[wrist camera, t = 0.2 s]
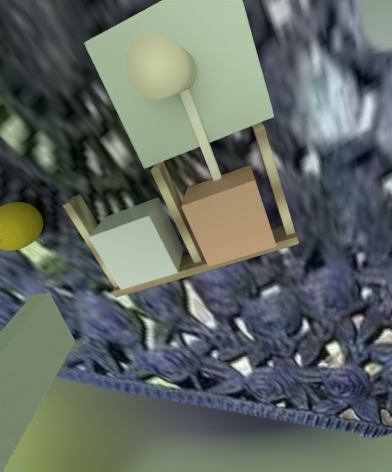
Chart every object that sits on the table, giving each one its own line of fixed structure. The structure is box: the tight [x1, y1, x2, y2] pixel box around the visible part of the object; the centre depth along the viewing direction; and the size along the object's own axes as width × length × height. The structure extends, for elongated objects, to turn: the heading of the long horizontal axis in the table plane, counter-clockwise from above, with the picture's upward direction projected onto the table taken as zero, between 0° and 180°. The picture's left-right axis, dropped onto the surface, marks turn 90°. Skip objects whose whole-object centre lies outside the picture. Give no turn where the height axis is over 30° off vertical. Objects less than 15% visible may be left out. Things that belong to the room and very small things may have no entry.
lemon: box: [0, 202, 43, 250], centre depth 38 cm, size 6×6×8 cm
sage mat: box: [84, 0, 274, 169], centre depth 32 cm, size 14×16×1 cm
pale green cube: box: [88, 197, 183, 290], centre depth 39 cm, size 8×8×6 cm
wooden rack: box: [63, 122, 299, 297], centre depth 38 cm, size 14×25×4 cm, turn 112°
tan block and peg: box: [126, 33, 277, 267], centre depth 30 cm, size 22×8×12 cm, turn 22°
